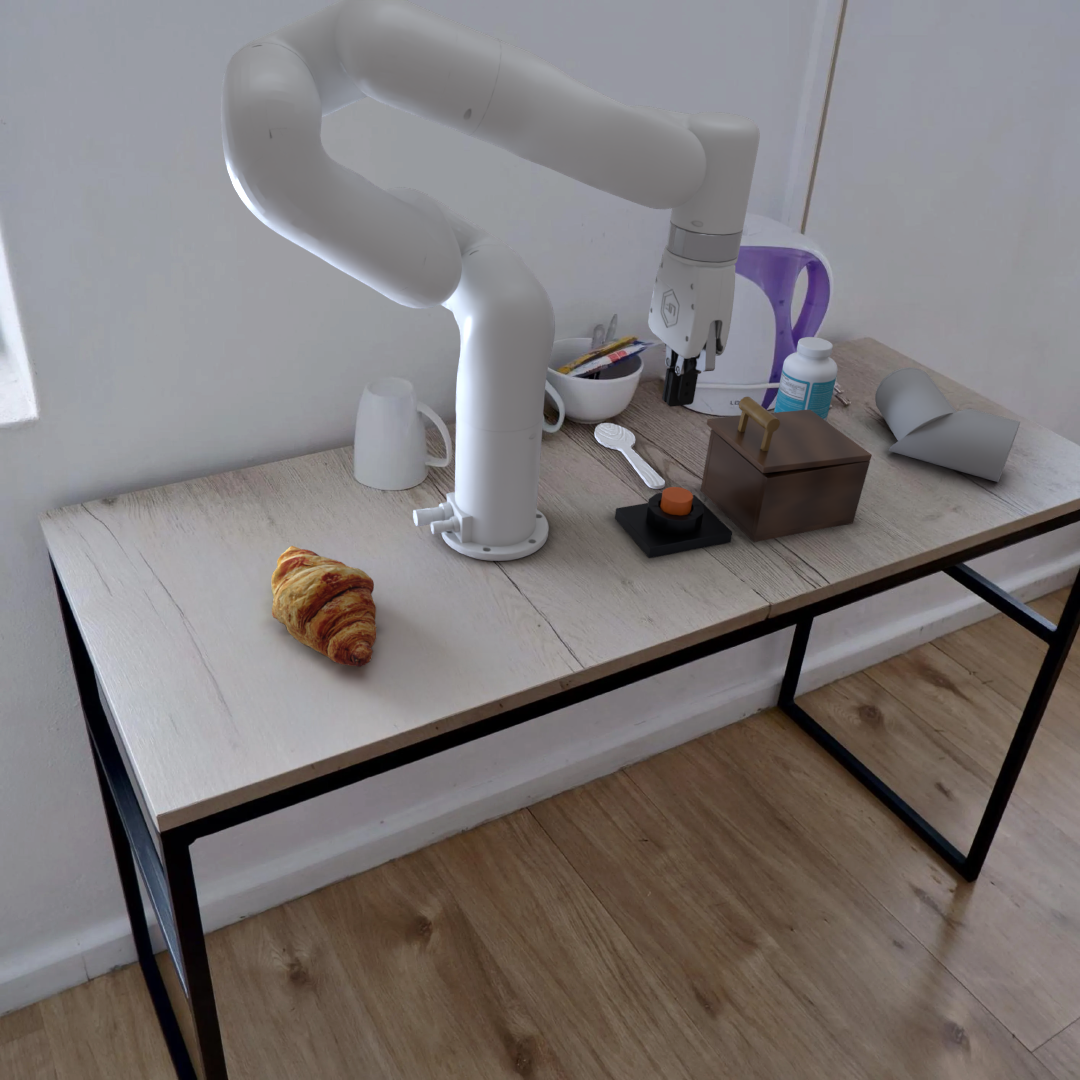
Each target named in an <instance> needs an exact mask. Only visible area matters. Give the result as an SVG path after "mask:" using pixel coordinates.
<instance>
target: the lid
mask: <svg viewBox="0 0 1080 1080" xmlns="http://www.w3.org/2000/svg"><path fill="white" fill-rule="evenodd" d="M738 408H739V410H740V411H741V414H740V415H734V416H724V417H714V418H712V417H711V418H708V419H707V421H706V426H708V427H709V428H710V429H711V430H712V429H713V430H714V431H715V432H716V433H717V434H718V435H719V436H721V437H722V438H723V439H724V440H725V441H726V442H728V443H729V444H730V445H731V446H732V447H733V448H734V449H736V450H737V451H738V452H739V453H740V454H741V455H743V456H744V457H745V458H746V459H747V460H748V461H749V462H751V463H752V464H753V465H754V466H755V467H756V468H757V469H759V470H760V471H761V472H762V473H770V472H778V471H786V470H795V469H803V468H811V467H820V466H828V465H836V464H845V463H853V462H861V461H870V462H871V459H872V457H873V455H872V453H870V452H869V451H867V450H866V449H865V448H864V447H862V446H861V445H859V444H858V443H856V442H855V441H853V440H852V439H851V438H850V437H848V436H847V435H846V434H844V433H843V432H842V431H840V430H839V429H837V427H835V426H833V425H832V424H831V423H829V422H828V421H827V420H826V421H825V420H824V419H822V418H821V417H820V416H818V415H817V414H816V413H814V412H813V411H812V410H810V409H809V410H798V411H787V412H776V413H774V412H770V411H769V410H767V409H766V408H765V407H764V406H762V405H761V404H760V403H758V402H757V401H755V400H754V399H753V398H752V397H750V396H744V397H742V398H741V399H740V401H739V403H738Z"/></svg>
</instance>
